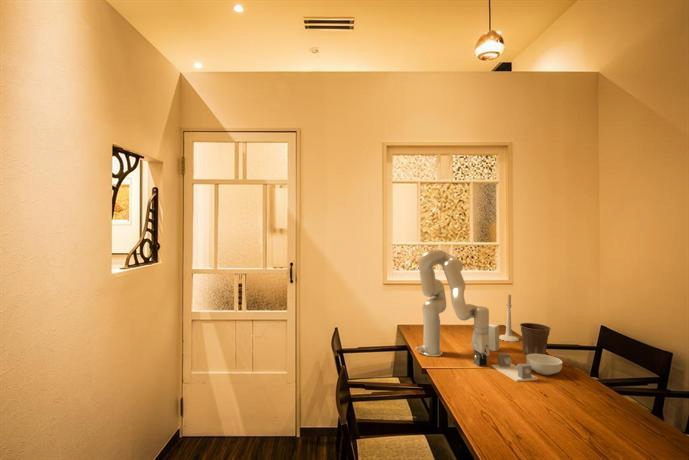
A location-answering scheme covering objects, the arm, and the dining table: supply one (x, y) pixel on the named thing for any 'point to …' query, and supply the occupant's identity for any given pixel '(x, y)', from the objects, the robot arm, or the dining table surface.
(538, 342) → the plant pot
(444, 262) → the robot arm
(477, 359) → the joint block
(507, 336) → the candlestick
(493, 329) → the skincare box
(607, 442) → the dining table surface
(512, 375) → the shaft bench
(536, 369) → the cereal bowl
